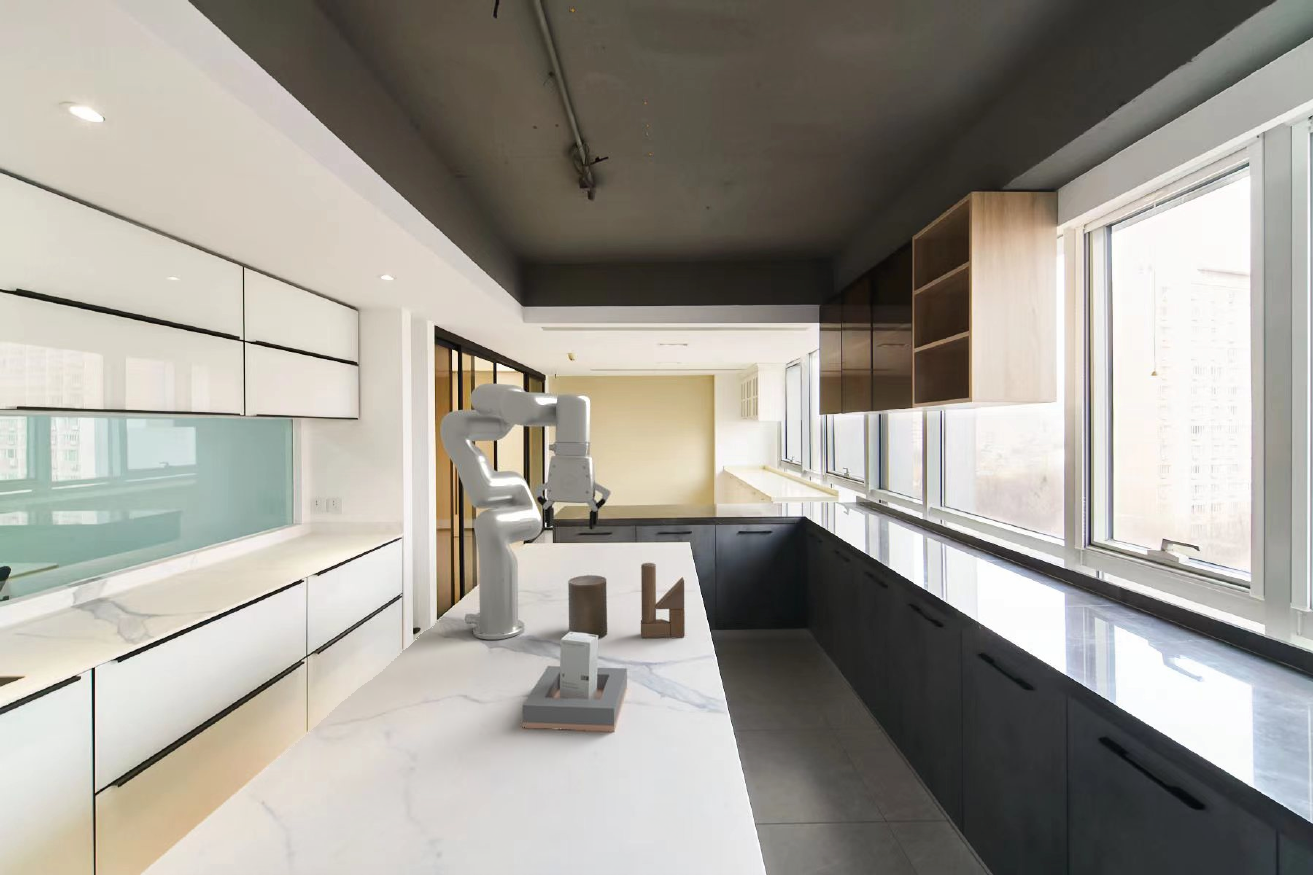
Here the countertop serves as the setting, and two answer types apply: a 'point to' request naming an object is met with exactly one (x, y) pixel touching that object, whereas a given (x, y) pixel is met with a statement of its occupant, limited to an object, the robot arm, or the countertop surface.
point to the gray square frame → (576, 703)
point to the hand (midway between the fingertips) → (571, 527)
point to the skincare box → (578, 666)
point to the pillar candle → (588, 605)
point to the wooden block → (661, 607)
